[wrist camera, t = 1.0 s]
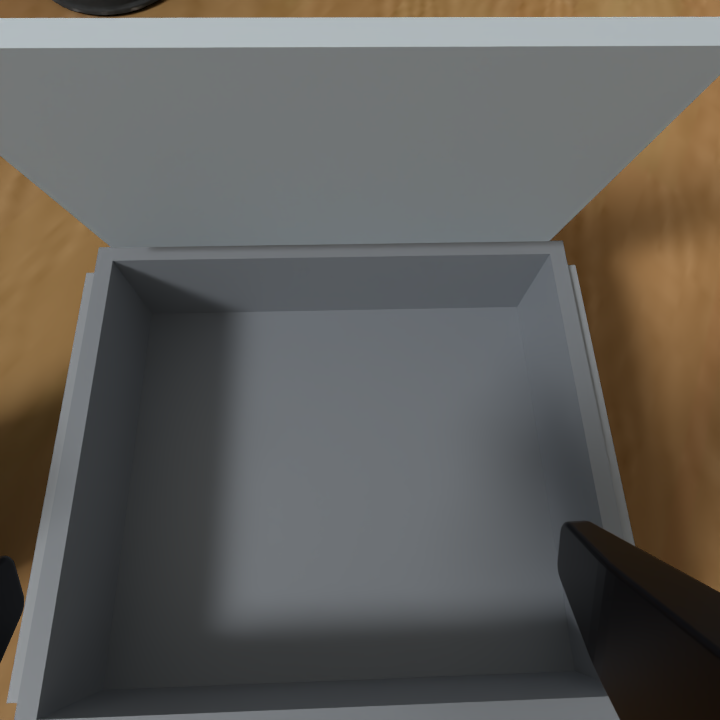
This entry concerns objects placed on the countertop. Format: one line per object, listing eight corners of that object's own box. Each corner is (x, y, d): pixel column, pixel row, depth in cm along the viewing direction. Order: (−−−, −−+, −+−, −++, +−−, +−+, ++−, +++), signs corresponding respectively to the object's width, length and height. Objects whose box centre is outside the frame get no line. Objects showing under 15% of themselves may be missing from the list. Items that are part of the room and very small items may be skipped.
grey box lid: (549, 241, 20) (750, 45, 10) (111, 247, 19) (-130, 48, 10) (547, 225, 20) (745, 16, 10) (112, 231, 20) (-127, 18, 10)
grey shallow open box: (600, 698, 20) (678, 735, 15) (77, 720, 19) (-9, 765, 14) (532, 301, 26) (572, 240, 21) (135, 308, 25) (88, 247, 21)
